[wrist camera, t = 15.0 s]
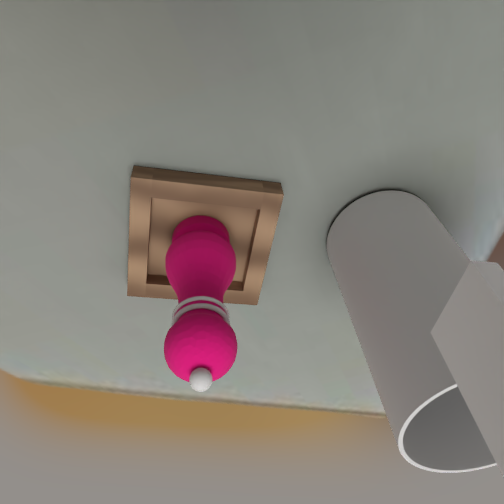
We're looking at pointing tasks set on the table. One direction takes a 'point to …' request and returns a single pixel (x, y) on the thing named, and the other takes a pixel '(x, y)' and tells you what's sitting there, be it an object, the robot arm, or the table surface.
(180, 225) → the pepper mill
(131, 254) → the walnut holder
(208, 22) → the table surface
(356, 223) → the cylinder vase
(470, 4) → the table surface
